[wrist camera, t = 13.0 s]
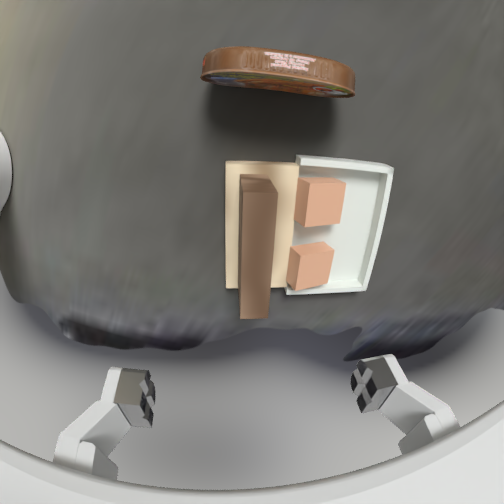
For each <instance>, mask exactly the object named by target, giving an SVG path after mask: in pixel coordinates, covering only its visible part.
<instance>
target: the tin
mask: <svg viewBox="0 0 504 504" xmlns="http://www.w3.org/2000/svg"><path fill="white" fill-rule="evenodd" d="M200 78H201V79H202V80H203V81H206V82H209V83H213V84H218V85H225V86H236V87H247V88H259V89H268V90H277V91H285V92H292V93H299V94H305V95H312V96H321V97H333V98H349V97H353V96H355V92H354V89H355V73H354V71H353V70H352V69H351V68H350V67H348V66H347V65H345V64H342V63H340V62H337V61H334V60H331V59H327V58H322V57H317V56H313V55H308V54H302V53H297V52H290V51H284V50H276V49H267V48H258V47H241V46H238V47H224V48H218V49H215V50H212V51H210V52H208V53H207V54H206V55H205V57H204V60H203V69H202V75H201V77H200Z"/></svg>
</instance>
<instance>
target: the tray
mask: <svg viewBox="0 0 504 504" xmlns="http://www.w3.org/2000/svg"><path fill="white" fill-rule="evenodd" d="M295 163H296V164H297V165H299V177H334V178H336V179H338V180H341V181H343V182H345V183H346V189H345V196H344V202H343V208H342V214H341V219H340V224H331V225H322V226H313V227H303V226H302V225H301V224H299V223H298V222H297V221H295V220H294V229H293V238H292V246H296V245H303V244H309V243H316V242H323V241H324V242H325V243H326V244H328V245H329V246H330V247H331V248H333V249H334V250H335V251H334V256H333V261H332V266H331V270H330V275H329V279H328V283H327V284H323V285H319V286H315V287H311V288H306V289H302V290H298V291H295V290H294V289H293V288H292V287H291V286H290V284H289V283H288V282H287V287H284V288H285V292H286V295H296V294H319V293H338V292H355V291H366V289H367V285H368V282H369V279H370V275H371V272H372V268H373V264H374V261H375V257H376V253H377V249H378V245H379V241H380V237H381V233H382V228H383V224H384V219H385V215H386V210H387V205H388V200H389V195H390V189H391V184H392V178H393V172H394V168H393V167H391V166H388V165H386V164H383V163H376V162H368V161H361V160H352V159H343V158H334V157H323V156H311V155H296V161H295Z"/></svg>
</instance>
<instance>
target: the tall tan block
mask: <svg viewBox="0 0 504 504" xmlns="http://www.w3.org/2000/svg"><path fill="white" fill-rule="evenodd" d="M277 203H278V192H277V190H276V188H275V187H274V185H273V183H272V182H271V180H270V178H269V176H268V175H265V174H240V181H239V229H238V294H239V308H240V319H259V318H268V310H269V299H270V289H271V277H272V266H273V254H274V242H275V229H276V216H277Z"/></svg>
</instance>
